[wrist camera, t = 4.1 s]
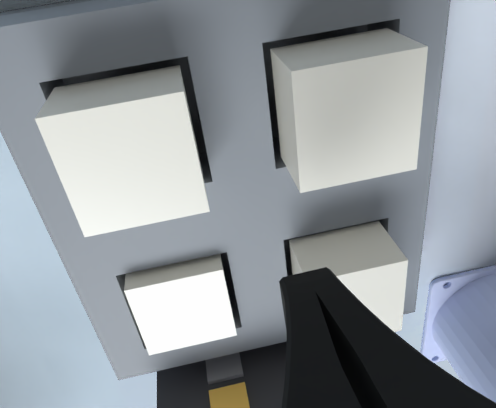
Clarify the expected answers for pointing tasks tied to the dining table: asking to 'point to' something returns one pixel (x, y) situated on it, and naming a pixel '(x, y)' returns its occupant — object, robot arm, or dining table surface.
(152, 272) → the button
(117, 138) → the button
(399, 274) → the button
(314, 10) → the button board
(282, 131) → the button
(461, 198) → the dining table surface
